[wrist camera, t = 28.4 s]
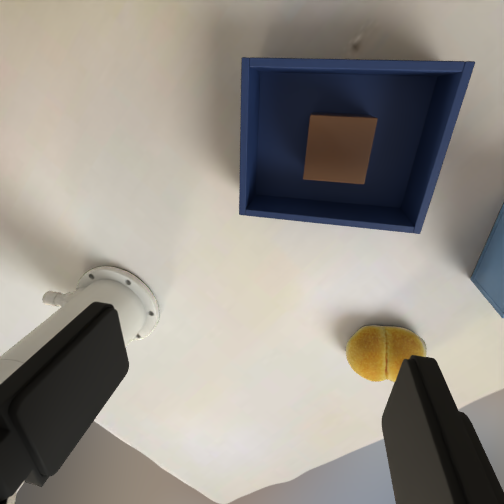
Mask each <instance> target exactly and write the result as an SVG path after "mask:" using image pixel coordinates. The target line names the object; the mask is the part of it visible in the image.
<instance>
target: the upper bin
mask: <svg viewBox="0 0 504 504" xmlns="http://www.w3.org/2000/svg"><path fill="white" fill-rule="evenodd" d="M470 280H471V281H472V282H473V283H474V284H475V286H476V287H477V288H478V289H479V290H480V292H481V293H482V294H483V295H484V297H485V298H486V299H487V300H488V301H489V303H490V304H491V305H492V306H493V307H494V309H495V310H496V311H497V312H498V314H499V315H500V316H501V317H502V318H504V203H503V206H502V208H501V210H500V212H499V215H498V217H497V219H496V222H495V224H494V226H493V228H492V231H491V233H490V235H489V238H488V240H487V242H486V244H485V247H484V249H483V251H482V254H481V256H480V258H479V260H478V263H477V265H476V267H475V270H474V272H473V274H472V276H471V279H470Z"/></svg>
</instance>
